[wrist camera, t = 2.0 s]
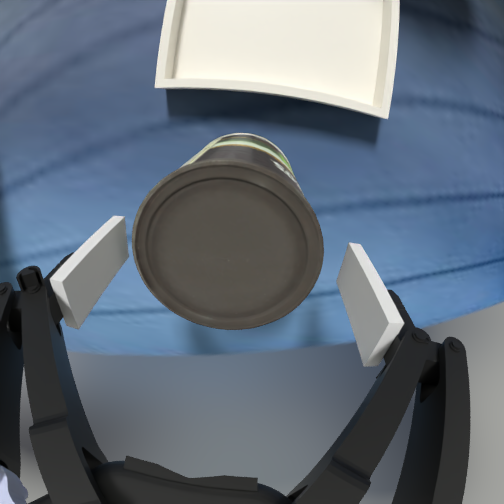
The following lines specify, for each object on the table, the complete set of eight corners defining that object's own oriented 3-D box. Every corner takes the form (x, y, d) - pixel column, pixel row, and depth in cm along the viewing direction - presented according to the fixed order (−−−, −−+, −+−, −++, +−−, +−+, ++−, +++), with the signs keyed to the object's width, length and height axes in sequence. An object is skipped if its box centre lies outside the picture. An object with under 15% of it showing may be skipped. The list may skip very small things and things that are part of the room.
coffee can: (276, 118, 23) (296, 131, 11) (304, 216, 28) (336, 309, 16) (173, 153, 25) (99, 204, 13) (210, 242, 30) (181, 341, 18)
